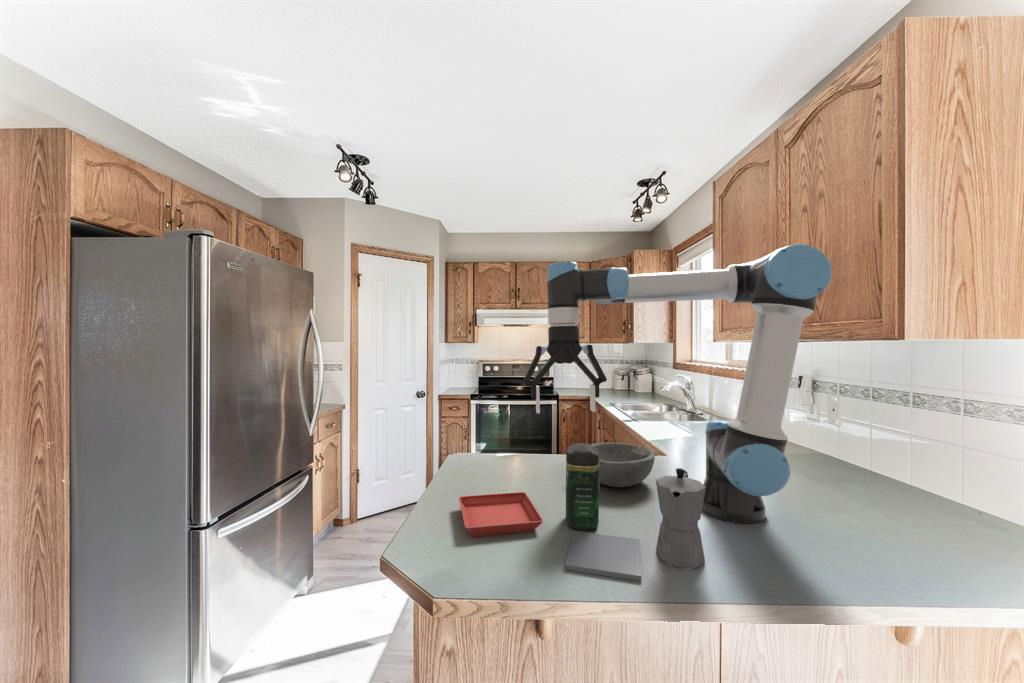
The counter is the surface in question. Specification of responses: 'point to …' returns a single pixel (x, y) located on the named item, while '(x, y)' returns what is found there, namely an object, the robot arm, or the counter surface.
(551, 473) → the counter surface
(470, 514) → the plant saucer
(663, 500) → the coffeepot
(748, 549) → the counter surface
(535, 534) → the counter surface
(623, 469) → the bowl
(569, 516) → the coffee jar
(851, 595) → the counter surface
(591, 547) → the plate
